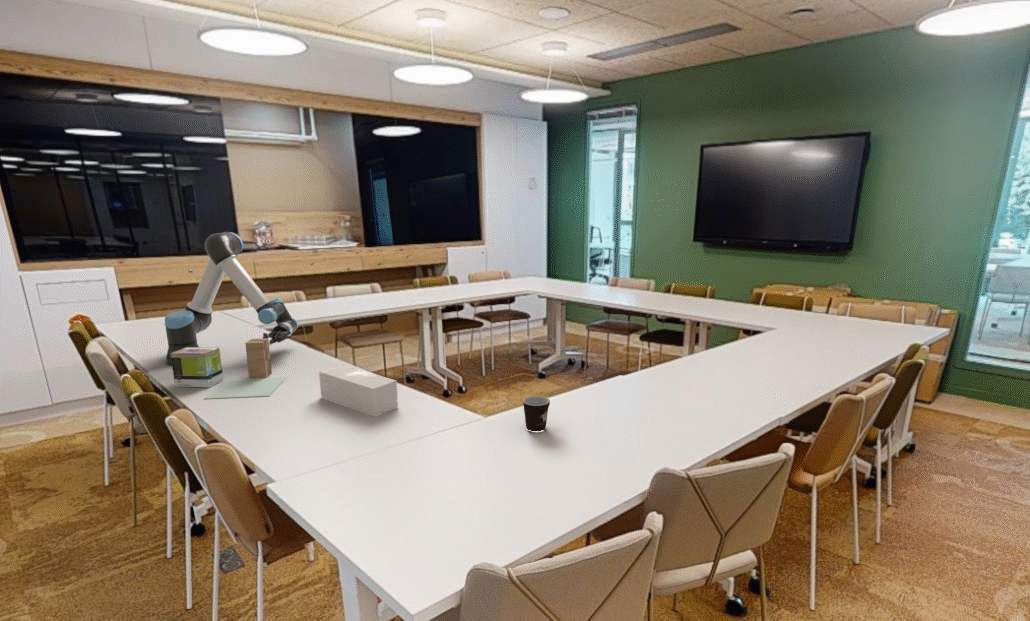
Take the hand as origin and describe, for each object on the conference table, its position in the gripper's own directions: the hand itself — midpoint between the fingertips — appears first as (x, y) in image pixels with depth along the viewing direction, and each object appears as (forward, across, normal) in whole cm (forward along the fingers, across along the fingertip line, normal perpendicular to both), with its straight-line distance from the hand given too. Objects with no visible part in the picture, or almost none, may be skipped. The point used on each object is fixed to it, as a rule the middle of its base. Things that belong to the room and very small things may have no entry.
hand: (265, 344), depth 233 cm
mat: (+24, +1, -12) cm, 26 cm away
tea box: (+15, +23, -12) cm, 30 cm away
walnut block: (+9, 0, -12) cm, 15 cm away
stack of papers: (+46, -47, -13) cm, 67 cm away
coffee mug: (+77, -111, -13) cm, 136 cm away
